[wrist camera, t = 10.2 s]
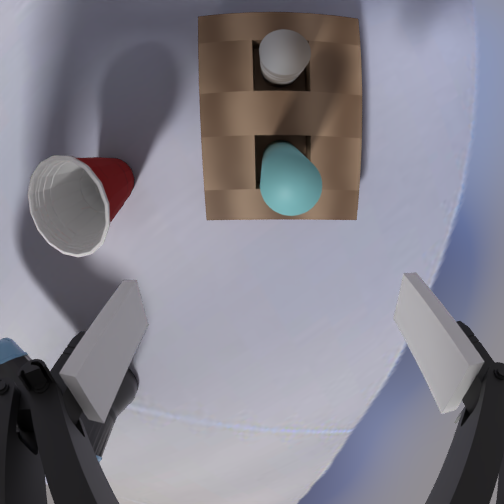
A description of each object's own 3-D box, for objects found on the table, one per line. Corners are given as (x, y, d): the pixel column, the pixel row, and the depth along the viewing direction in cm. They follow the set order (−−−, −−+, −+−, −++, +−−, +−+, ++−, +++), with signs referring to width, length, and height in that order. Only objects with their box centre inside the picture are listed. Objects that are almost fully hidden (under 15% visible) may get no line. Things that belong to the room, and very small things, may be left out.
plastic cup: (76, 206, 37) (24, 240, 26) (90, 132, 32) (30, 144, 22) (142, 231, 38) (100, 276, 27) (162, 153, 34) (117, 171, 23)
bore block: (214, 206, 36) (194, 242, 26) (207, 29, 27) (183, -4, 17) (345, 206, 35) (374, 242, 26) (346, 30, 26) (377, 0, 16)
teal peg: (262, 174, 33) (260, 215, 20) (262, 140, 32) (259, 155, 18) (298, 174, 33) (320, 215, 20) (298, 140, 32) (323, 156, 18)
